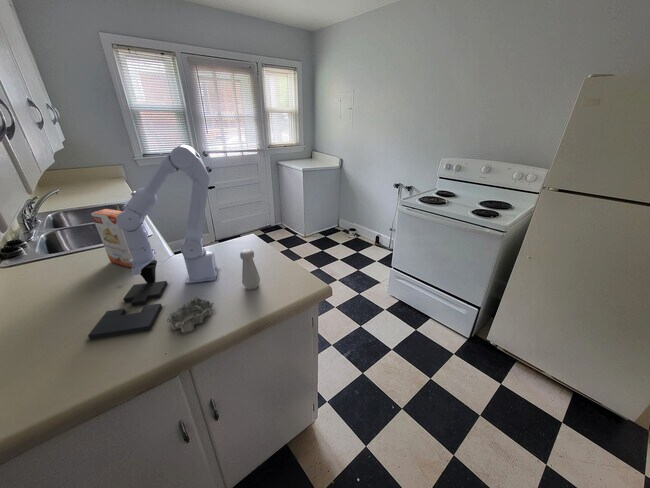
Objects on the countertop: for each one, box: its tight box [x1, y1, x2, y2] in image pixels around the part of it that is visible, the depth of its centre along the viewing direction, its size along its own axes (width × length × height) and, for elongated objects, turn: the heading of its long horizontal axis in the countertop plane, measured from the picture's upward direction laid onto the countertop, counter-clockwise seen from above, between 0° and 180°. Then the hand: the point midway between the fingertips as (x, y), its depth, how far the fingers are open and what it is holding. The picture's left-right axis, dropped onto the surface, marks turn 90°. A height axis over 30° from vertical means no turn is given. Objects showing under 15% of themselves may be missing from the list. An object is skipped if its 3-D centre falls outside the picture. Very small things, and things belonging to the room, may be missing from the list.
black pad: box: [122, 280, 168, 307], centre depth 86 cm, size 10×11×2 cm
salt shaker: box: [239, 248, 261, 291], centre depth 87 cm, size 6×6×13 cm
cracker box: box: [90, 208, 133, 269], centre depth 102 cm, size 14×6×21 cm, turn 67°
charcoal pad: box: [87, 303, 163, 341], centre depth 74 cm, size 14×10×2 cm
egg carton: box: [166, 295, 215, 334], centre depth 74 cm, size 11×8×4 cm
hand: (151, 282), depth 91 cm, fingers closed
